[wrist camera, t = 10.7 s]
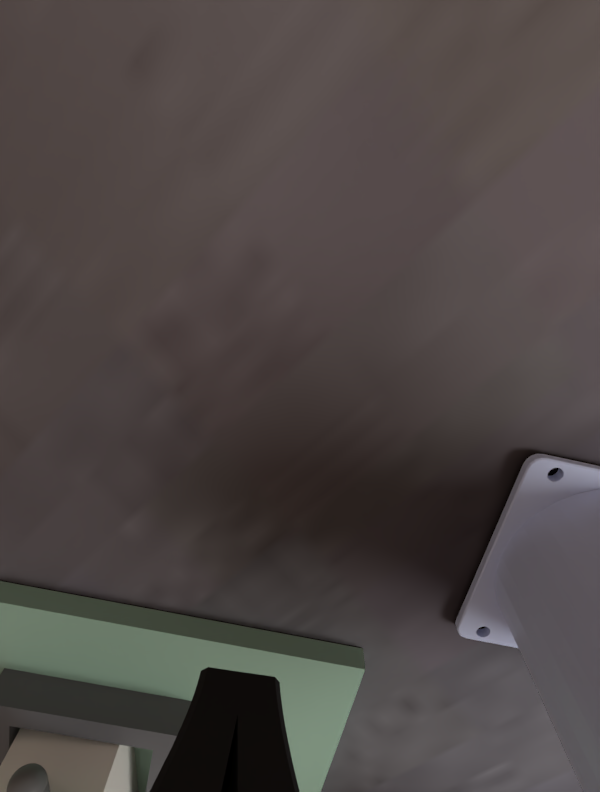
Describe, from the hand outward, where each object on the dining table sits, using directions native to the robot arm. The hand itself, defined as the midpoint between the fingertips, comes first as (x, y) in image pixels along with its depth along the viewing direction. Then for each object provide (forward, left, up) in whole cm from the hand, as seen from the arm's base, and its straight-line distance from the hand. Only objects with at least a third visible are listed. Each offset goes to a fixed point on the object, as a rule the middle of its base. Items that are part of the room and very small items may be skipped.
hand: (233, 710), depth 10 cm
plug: (+5, +15, -8) cm, 18 cm away
